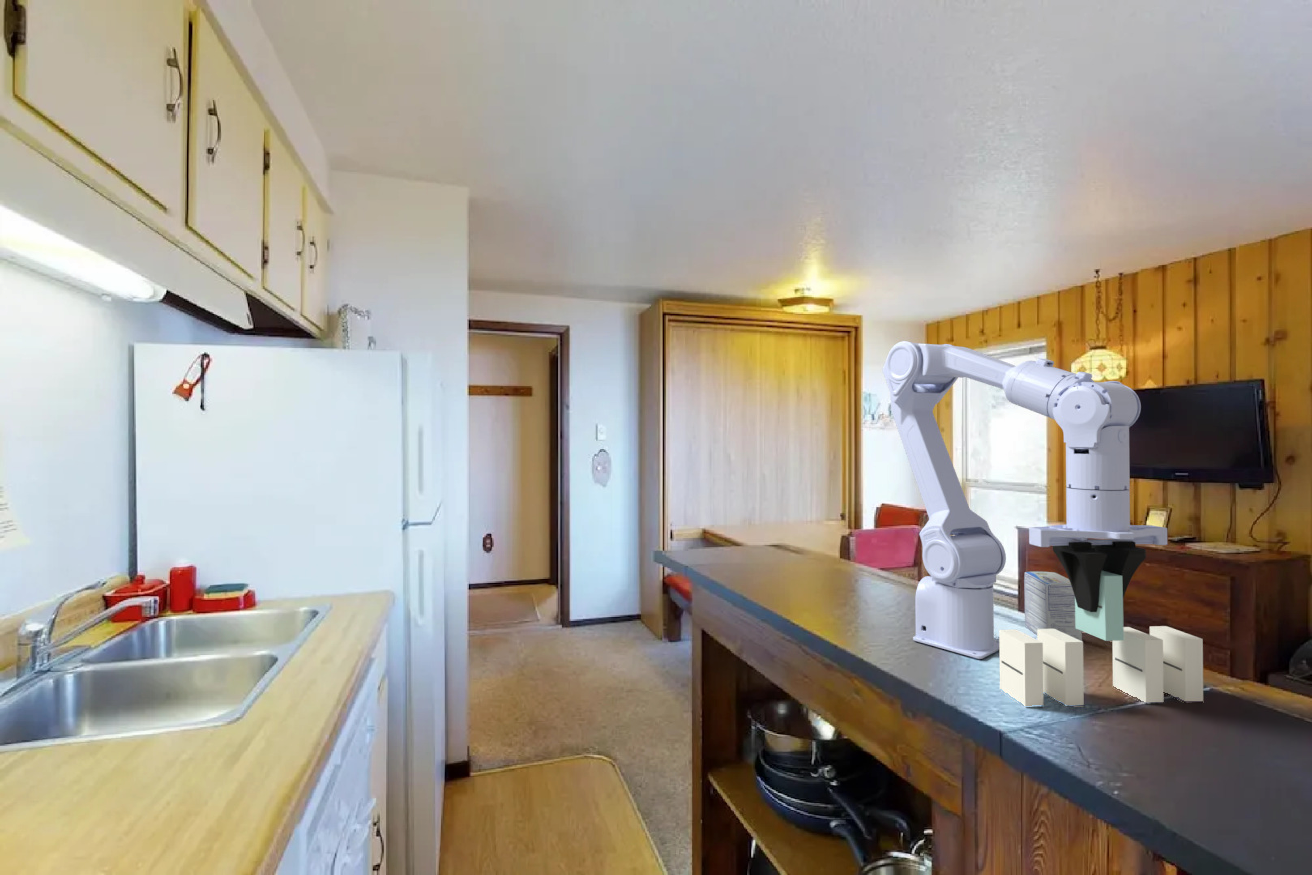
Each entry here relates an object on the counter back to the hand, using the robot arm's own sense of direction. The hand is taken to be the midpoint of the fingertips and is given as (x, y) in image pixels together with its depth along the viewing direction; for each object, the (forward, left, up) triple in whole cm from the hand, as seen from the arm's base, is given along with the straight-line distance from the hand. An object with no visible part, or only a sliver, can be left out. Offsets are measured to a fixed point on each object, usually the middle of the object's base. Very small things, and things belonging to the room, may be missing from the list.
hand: (1098, 609), depth 66 cm
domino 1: (-5, -7, -10) cm, 13 cm away
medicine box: (-11, +18, -10) cm, 24 cm away
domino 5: (+5, +7, -10) cm, 13 cm away
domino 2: (-3, -4, -10) cm, 11 cm away
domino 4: (+3, +4, -10) cm, 11 cm away
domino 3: (0, 0, -3) cm, 3 cm away
